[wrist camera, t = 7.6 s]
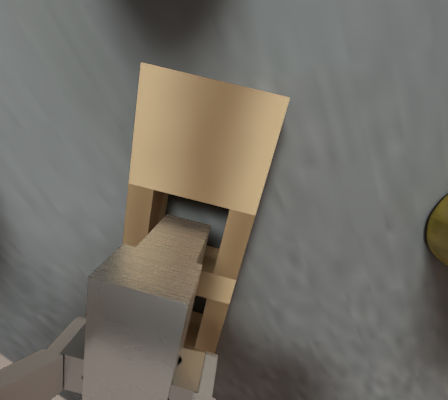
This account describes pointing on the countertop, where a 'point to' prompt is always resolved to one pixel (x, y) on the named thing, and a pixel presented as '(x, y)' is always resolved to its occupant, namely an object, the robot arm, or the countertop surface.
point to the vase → (439, 231)
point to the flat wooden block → (202, 171)
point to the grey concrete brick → (142, 312)
